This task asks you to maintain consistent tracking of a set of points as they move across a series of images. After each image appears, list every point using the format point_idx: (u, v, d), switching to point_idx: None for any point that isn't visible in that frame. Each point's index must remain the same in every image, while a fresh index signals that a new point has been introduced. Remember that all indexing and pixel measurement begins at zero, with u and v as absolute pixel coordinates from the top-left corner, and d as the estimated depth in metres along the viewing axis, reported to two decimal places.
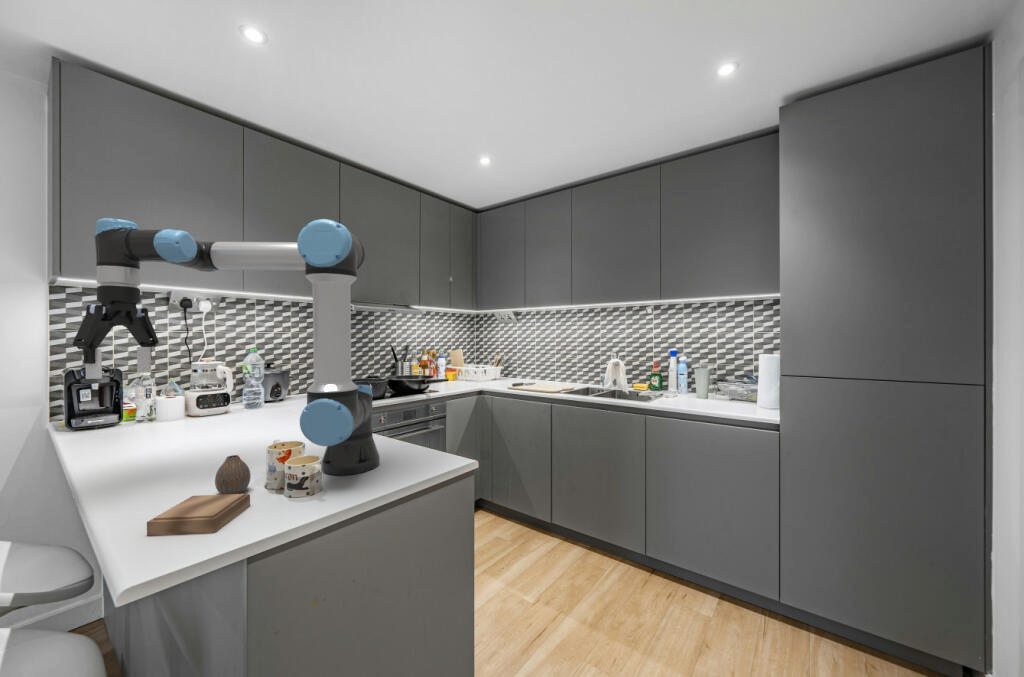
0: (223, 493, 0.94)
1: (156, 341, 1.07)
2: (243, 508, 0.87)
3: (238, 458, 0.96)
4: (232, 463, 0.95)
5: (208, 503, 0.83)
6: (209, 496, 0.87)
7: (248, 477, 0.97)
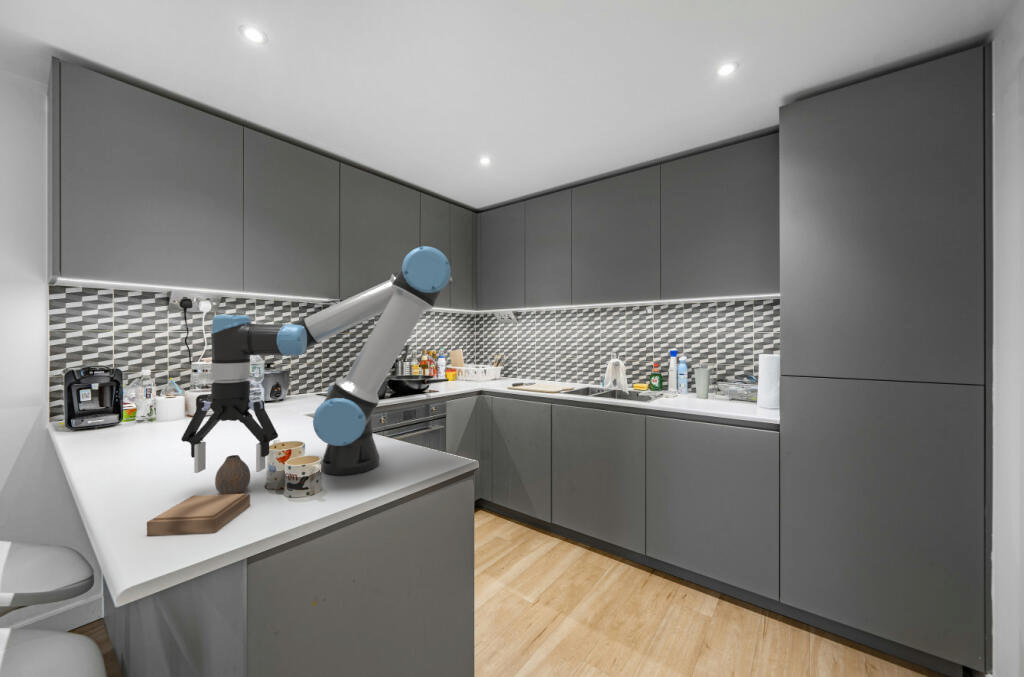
0: (223, 493, 0.94)
1: (269, 438, 0.96)
2: (243, 508, 0.87)
3: (238, 458, 0.96)
4: (232, 463, 0.95)
5: (208, 503, 0.83)
6: (209, 496, 0.87)
7: (248, 477, 0.97)
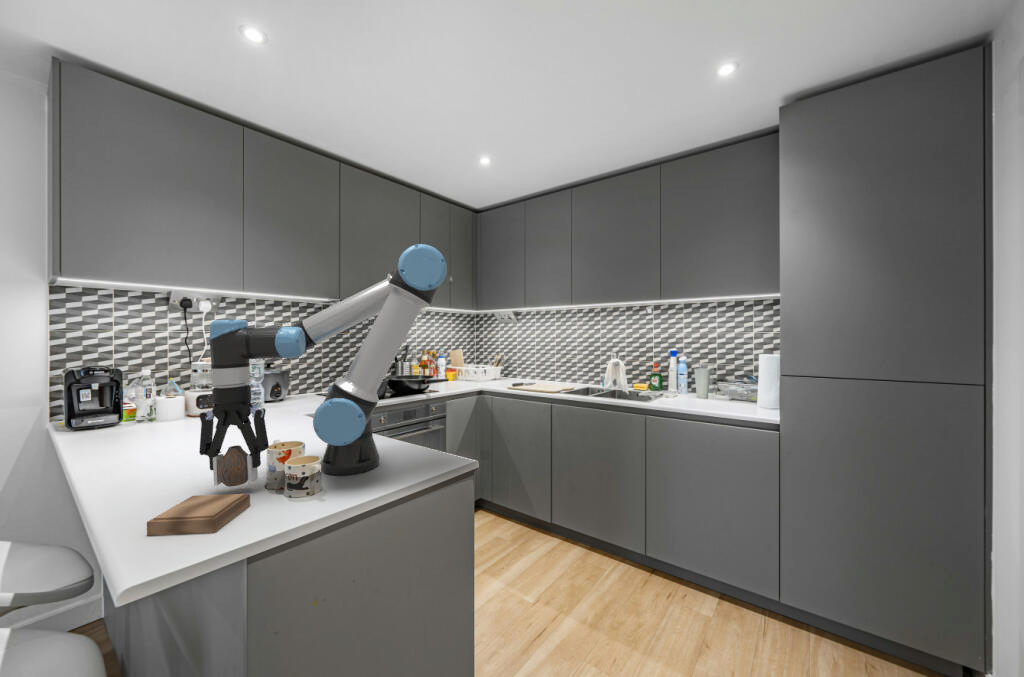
0: (226, 483, 0.94)
1: (259, 448, 0.96)
2: (243, 508, 0.87)
3: (240, 448, 0.96)
4: (234, 453, 0.95)
5: (208, 503, 0.83)
6: (209, 496, 0.87)
7: None
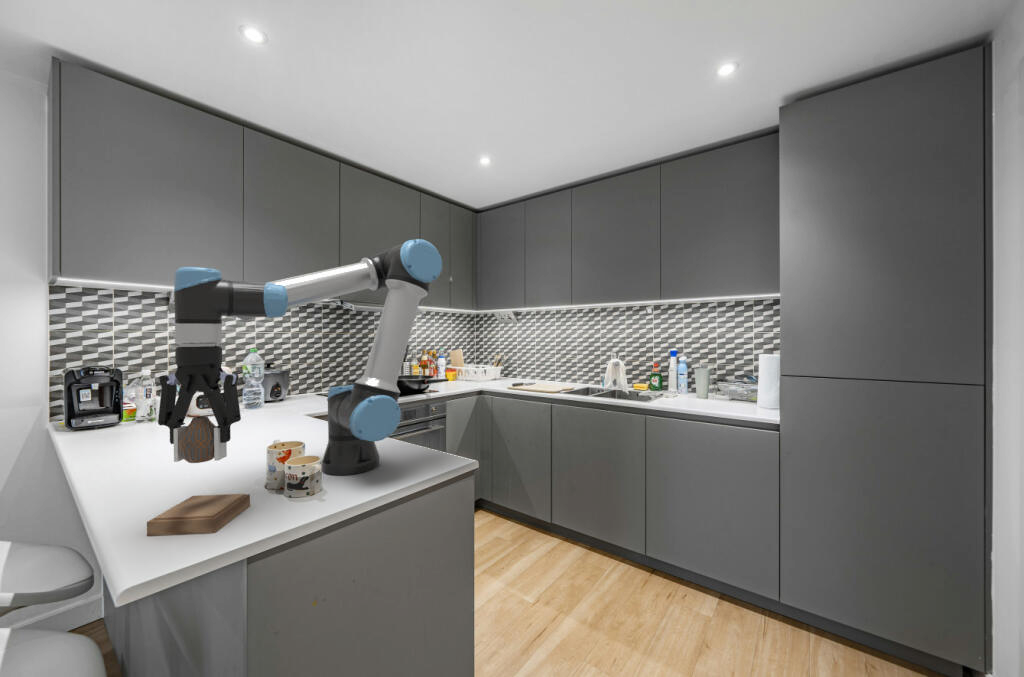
0: (188, 459, 0.80)
1: (229, 420, 0.82)
2: (243, 508, 0.87)
3: (207, 419, 0.82)
4: (199, 424, 0.81)
5: (208, 503, 0.83)
6: (209, 496, 0.87)
7: None
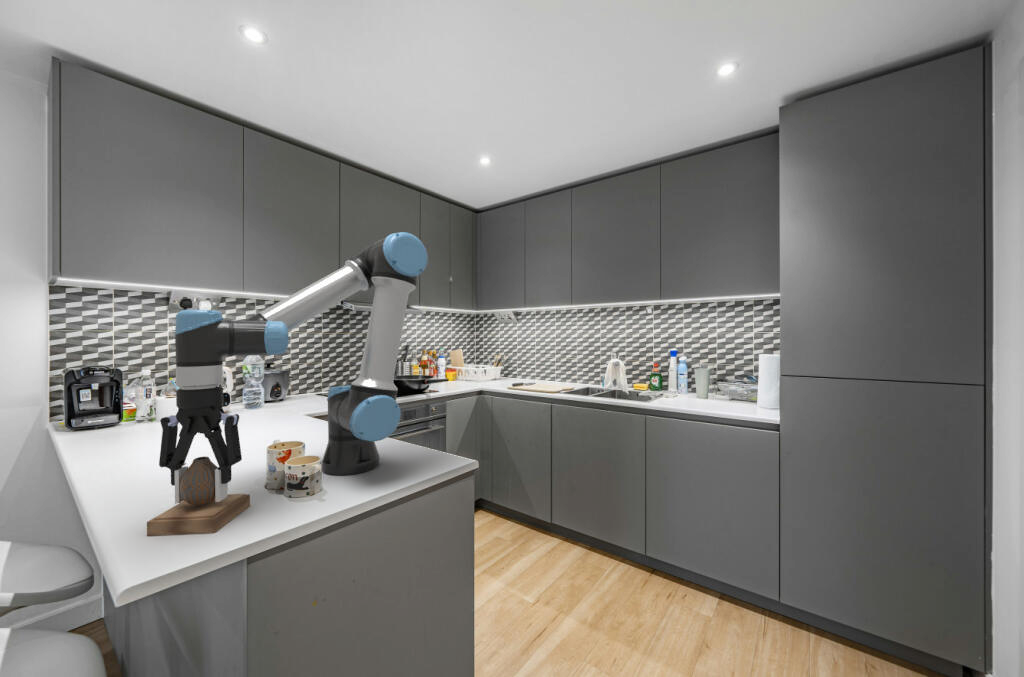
0: (189, 501, 0.80)
1: (230, 461, 0.82)
2: (243, 508, 0.87)
3: (208, 460, 0.83)
4: (200, 466, 0.81)
5: (208, 503, 0.83)
6: None
7: None
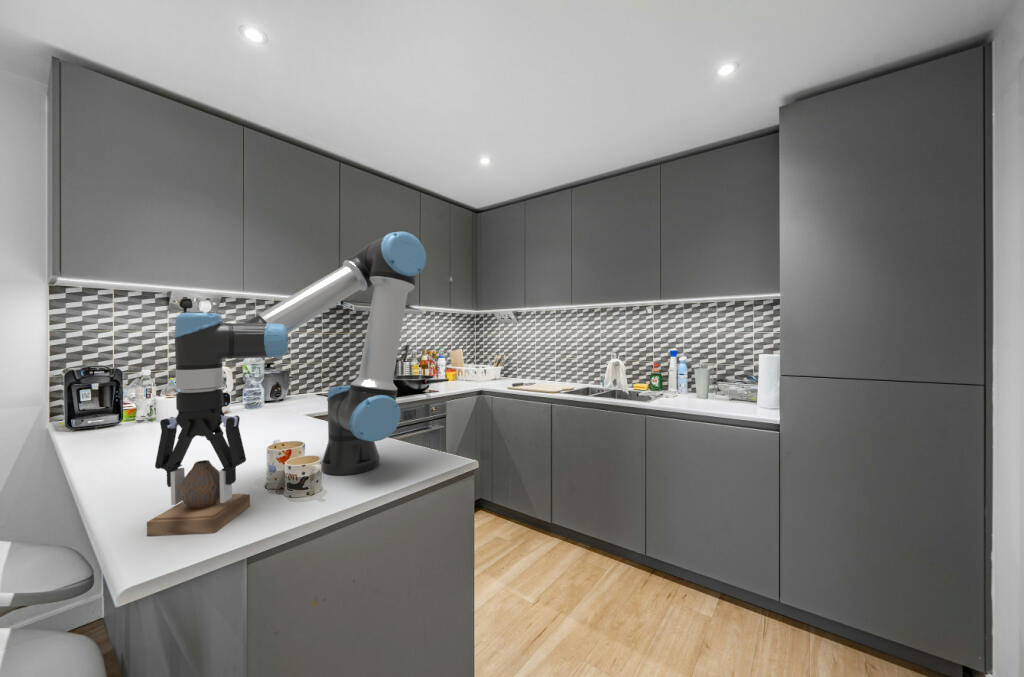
0: (190, 505, 0.80)
1: (234, 462, 0.82)
2: (243, 508, 0.87)
3: (208, 464, 0.83)
4: (200, 470, 0.81)
5: None
6: None
7: None
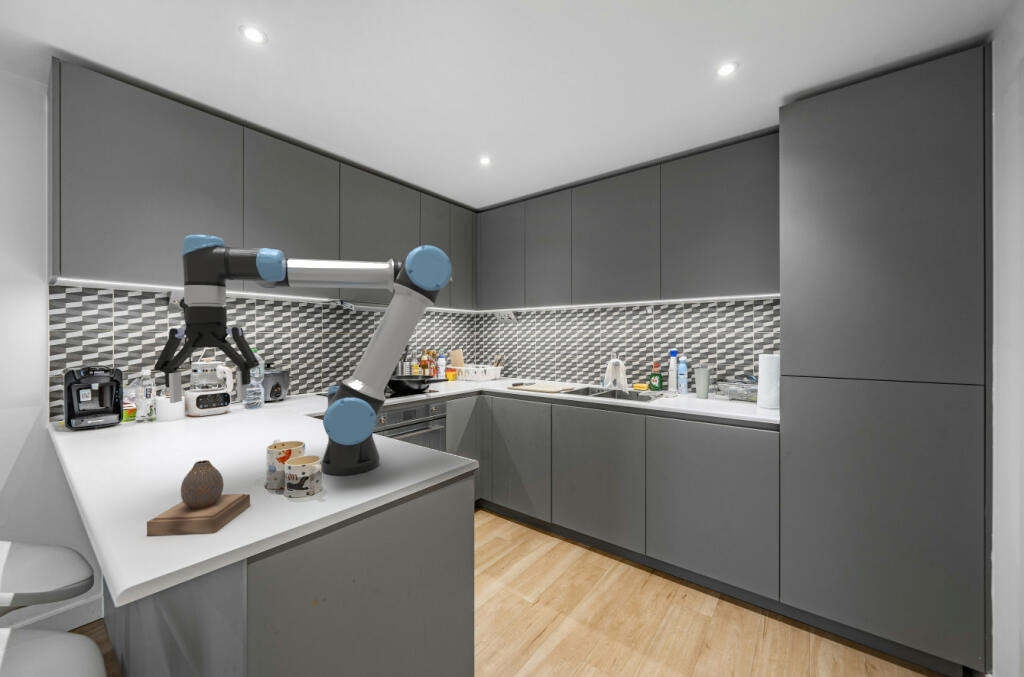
0: (190, 505, 0.80)
1: (250, 364, 0.92)
2: (243, 508, 0.87)
3: (208, 464, 0.83)
4: (200, 470, 0.81)
5: None
6: None
7: (220, 486, 0.83)
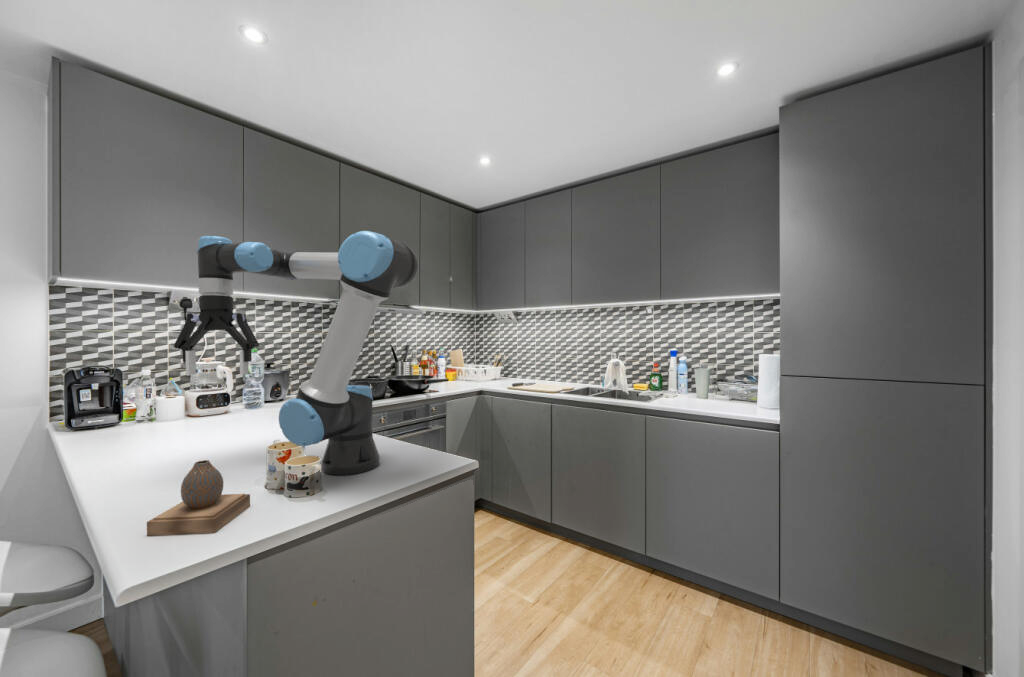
0: (190, 505, 0.80)
1: (250, 345, 1.09)
2: (243, 508, 0.87)
3: (208, 464, 0.83)
4: (200, 470, 0.81)
5: None
6: None
7: (220, 486, 0.83)
